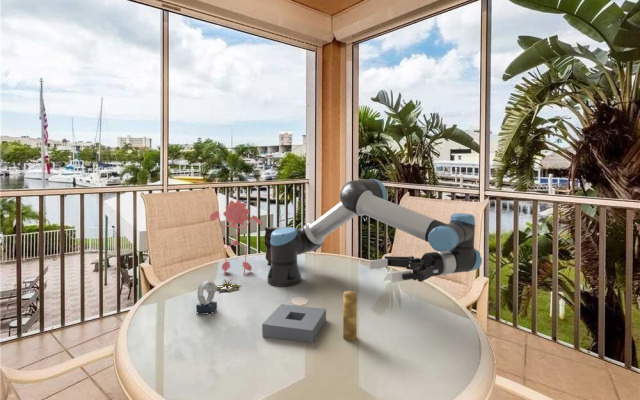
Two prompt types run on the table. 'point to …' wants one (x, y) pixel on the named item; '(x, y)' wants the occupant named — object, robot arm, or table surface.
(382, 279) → the table surface
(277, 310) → the hole block
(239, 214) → the figurine
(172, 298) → the table surface
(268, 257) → the owl
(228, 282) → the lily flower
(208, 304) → the watch
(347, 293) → the ochre pin
